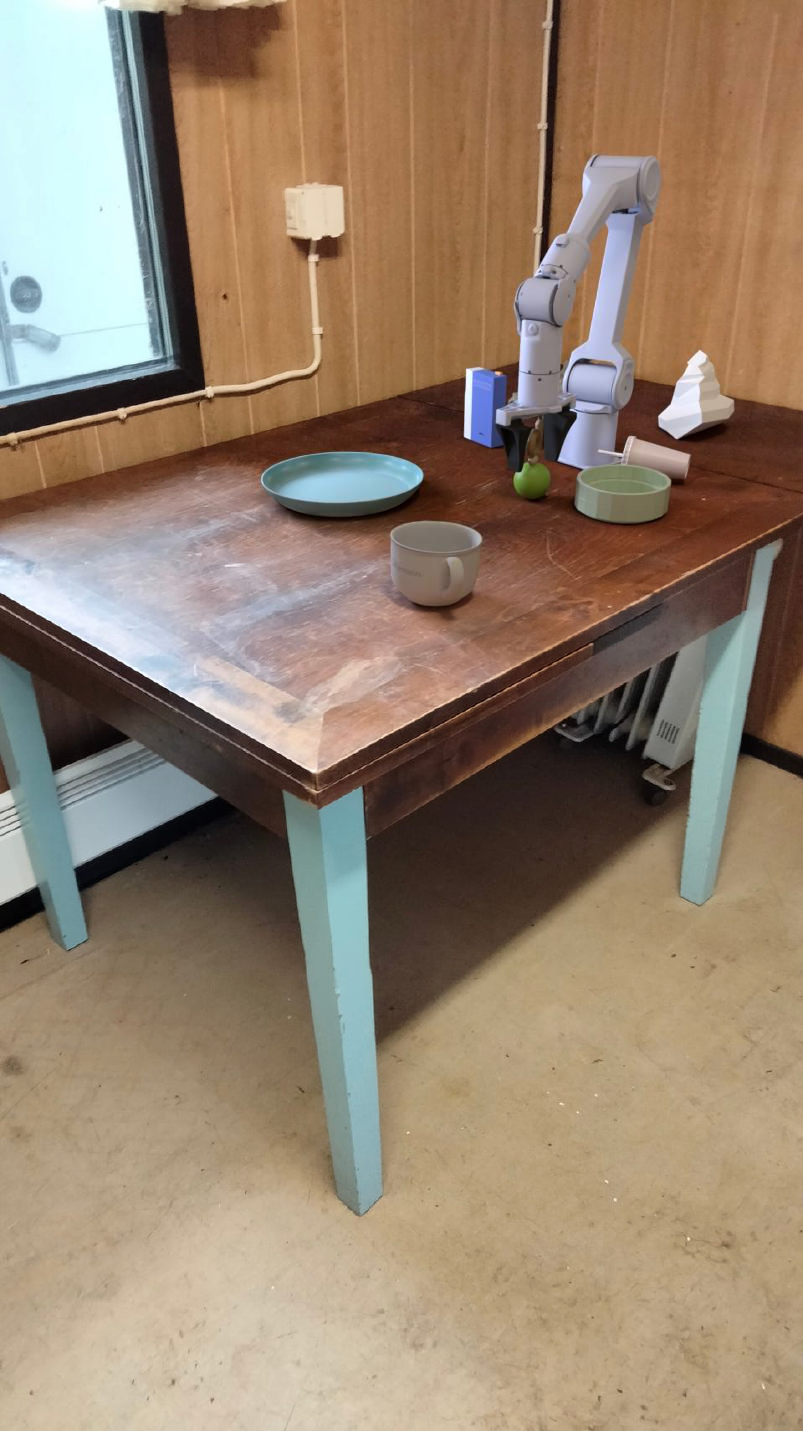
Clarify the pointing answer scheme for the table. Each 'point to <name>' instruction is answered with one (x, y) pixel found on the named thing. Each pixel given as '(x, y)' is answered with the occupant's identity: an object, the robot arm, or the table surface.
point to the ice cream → (696, 400)
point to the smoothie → (653, 457)
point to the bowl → (622, 493)
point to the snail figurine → (533, 467)
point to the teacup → (434, 561)
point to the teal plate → (342, 483)
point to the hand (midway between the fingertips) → (533, 465)
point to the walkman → (483, 405)
